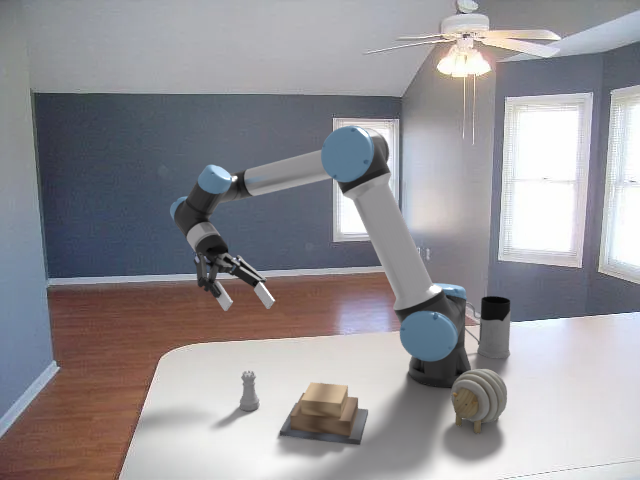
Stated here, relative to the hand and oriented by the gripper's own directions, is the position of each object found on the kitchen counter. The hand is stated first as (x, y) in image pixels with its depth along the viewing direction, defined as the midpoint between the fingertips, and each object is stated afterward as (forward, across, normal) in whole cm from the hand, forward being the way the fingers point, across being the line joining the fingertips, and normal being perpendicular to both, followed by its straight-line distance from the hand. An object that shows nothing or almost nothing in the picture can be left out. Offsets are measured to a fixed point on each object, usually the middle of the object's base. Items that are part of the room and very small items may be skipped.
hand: (251, 305), depth 117 cm
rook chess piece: (+17, +1, -15) cm, 22 cm away
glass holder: (+33, -59, +13) cm, 69 cm away
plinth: (+30, -3, -4) cm, 31 cm away
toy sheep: (+48, -22, +14) cm, 55 cm away
